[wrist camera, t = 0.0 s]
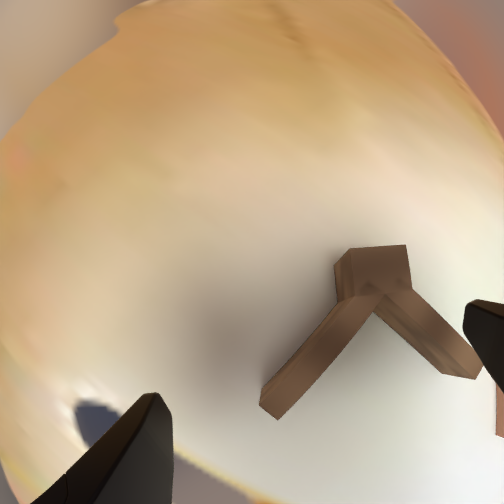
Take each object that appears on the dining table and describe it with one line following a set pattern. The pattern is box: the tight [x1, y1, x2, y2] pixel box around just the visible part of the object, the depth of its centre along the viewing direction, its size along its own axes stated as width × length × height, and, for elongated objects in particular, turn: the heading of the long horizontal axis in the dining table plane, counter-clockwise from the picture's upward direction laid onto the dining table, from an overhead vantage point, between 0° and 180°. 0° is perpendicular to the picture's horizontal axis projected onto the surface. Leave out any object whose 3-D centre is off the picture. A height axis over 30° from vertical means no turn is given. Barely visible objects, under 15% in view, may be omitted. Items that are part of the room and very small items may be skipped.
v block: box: [259, 245, 483, 420], centre depth 19 cm, size 10×16×5 cm, turn 93°
